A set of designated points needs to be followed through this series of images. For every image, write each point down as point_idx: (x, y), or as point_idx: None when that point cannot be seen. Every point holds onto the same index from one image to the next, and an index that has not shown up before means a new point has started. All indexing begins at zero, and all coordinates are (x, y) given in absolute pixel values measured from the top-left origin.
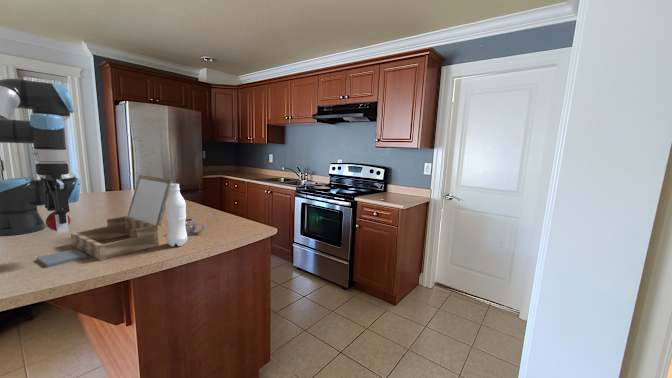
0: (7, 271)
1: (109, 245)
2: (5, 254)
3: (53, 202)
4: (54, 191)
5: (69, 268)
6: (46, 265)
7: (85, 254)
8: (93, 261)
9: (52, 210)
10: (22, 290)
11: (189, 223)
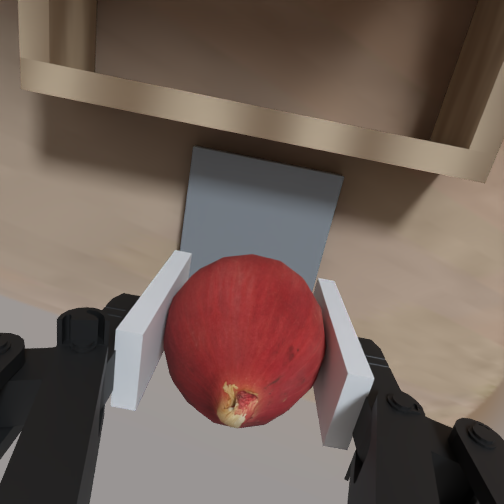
0: None
1: (501, 127)
2: None
3: (90, 468)
4: None
5: (398, 277)
6: None
7: (334, 177)
8: (420, 192)
9: (112, 380)
10: (436, 414)
11: None
